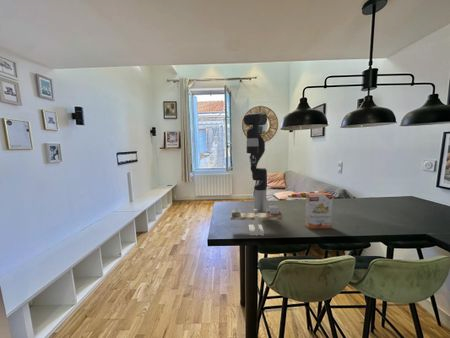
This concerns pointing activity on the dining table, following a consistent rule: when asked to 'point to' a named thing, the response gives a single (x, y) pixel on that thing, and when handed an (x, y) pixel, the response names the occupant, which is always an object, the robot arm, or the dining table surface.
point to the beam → (251, 216)
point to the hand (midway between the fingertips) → (252, 171)
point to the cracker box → (318, 210)
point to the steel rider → (273, 210)
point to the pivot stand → (256, 226)
